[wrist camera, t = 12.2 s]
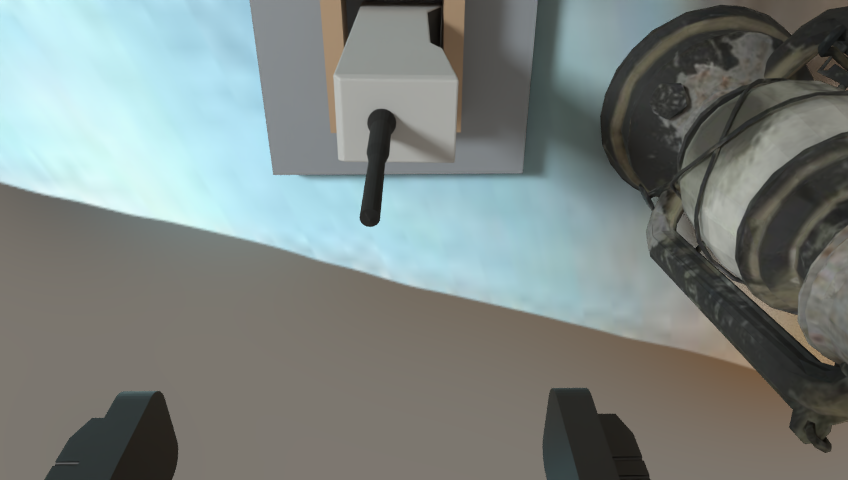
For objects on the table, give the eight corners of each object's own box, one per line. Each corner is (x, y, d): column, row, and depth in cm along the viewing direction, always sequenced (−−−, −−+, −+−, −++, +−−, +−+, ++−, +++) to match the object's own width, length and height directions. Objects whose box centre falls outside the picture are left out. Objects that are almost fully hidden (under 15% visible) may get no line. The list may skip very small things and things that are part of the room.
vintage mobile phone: (440, 61, 41) (470, 273, 19) (364, 60, 41) (309, 273, 19) (442, 1, 39) (477, 162, 17) (362, 0, 39) (298, 161, 17)
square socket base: (242, -113, 37) (220, -111, 33) (541, -114, 37) (558, -112, 33) (278, 163, 46) (264, 193, 42) (518, 162, 47) (529, 191, 42)
